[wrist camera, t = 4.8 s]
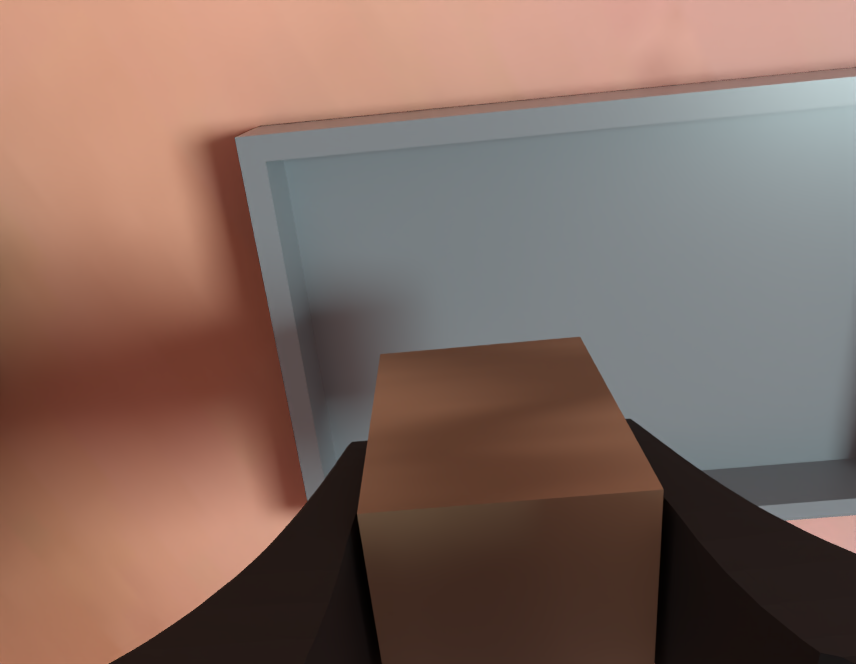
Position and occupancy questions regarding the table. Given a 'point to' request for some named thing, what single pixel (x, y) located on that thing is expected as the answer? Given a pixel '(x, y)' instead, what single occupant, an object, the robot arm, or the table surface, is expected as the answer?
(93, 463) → the table surface
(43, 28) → the table surface
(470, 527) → the walnut block
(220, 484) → the table surface
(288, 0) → the table surface
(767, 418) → the tray
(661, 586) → the robot arm
